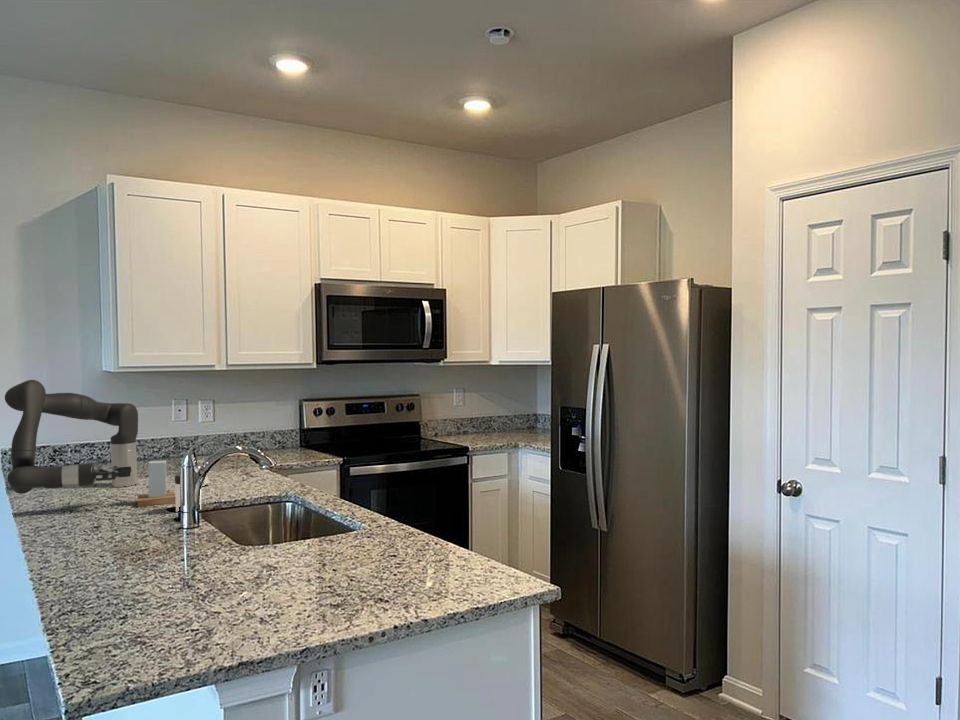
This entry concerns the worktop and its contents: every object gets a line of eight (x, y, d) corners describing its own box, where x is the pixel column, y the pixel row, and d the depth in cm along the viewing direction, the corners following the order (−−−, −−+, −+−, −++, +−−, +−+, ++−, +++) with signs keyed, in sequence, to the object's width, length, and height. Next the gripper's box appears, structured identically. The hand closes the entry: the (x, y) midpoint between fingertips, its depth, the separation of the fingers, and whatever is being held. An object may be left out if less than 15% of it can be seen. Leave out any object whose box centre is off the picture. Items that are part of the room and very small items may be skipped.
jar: (201, 511, 239) (200, 475, 238) (175, 513, 236) (173, 477, 236) (202, 505, 247) (201, 471, 247) (176, 508, 244) (175, 473, 244)
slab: (138, 503, 258) (138, 494, 258) (174, 499, 263) (174, 491, 263) (137, 509, 247) (137, 500, 247) (175, 505, 252) (175, 497, 252)
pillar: (149, 494, 256) (149, 461, 256) (166, 493, 258) (166, 460, 258) (148, 497, 251) (148, 463, 251) (165, 496, 253) (165, 462, 253)
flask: (214, 484, 288) (213, 459, 288) (205, 487, 281) (204, 462, 281) (196, 484, 289) (196, 459, 289) (187, 487, 282) (187, 462, 282)
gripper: (75, 467, 238) (129, 463, 245) (79, 461, 251) (131, 458, 258) (76, 490, 238) (130, 485, 245) (80, 483, 251) (131, 478, 258)
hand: (130, 471), depth 251 cm, fingers open, 8 cm apart
